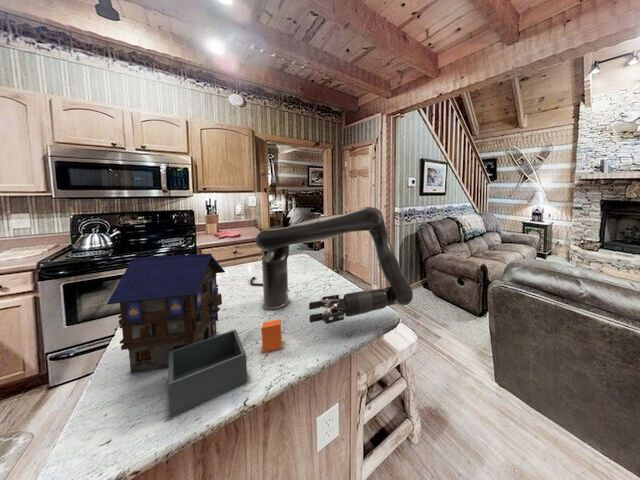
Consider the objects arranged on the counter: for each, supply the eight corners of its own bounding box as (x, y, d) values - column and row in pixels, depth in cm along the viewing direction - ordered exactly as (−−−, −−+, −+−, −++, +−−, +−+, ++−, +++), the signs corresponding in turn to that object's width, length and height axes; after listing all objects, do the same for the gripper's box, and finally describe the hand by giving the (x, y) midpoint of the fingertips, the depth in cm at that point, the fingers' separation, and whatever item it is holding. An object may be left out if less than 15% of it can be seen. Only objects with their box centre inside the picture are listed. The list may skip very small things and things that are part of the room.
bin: (171, 379, 66) (168, 351, 66) (237, 353, 76) (235, 329, 76) (170, 417, 56) (168, 385, 55) (247, 381, 66) (245, 353, 65)
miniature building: (207, 366, 71) (200, 263, 69) (110, 382, 65) (100, 270, 63) (233, 328, 89) (229, 245, 87) (160, 338, 83) (153, 249, 81)
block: (264, 346, 80) (263, 322, 79) (281, 342, 82) (281, 319, 81) (262, 352, 77) (261, 327, 76) (281, 348, 79) (280, 324, 78)
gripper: (354, 284, 95) (308, 292, 89) (362, 301, 82) (309, 311, 76) (354, 303, 96) (309, 312, 89) (362, 323, 83) (310, 335, 76)
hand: (309, 312), depth 83 cm, fingers open, 8 cm apart
